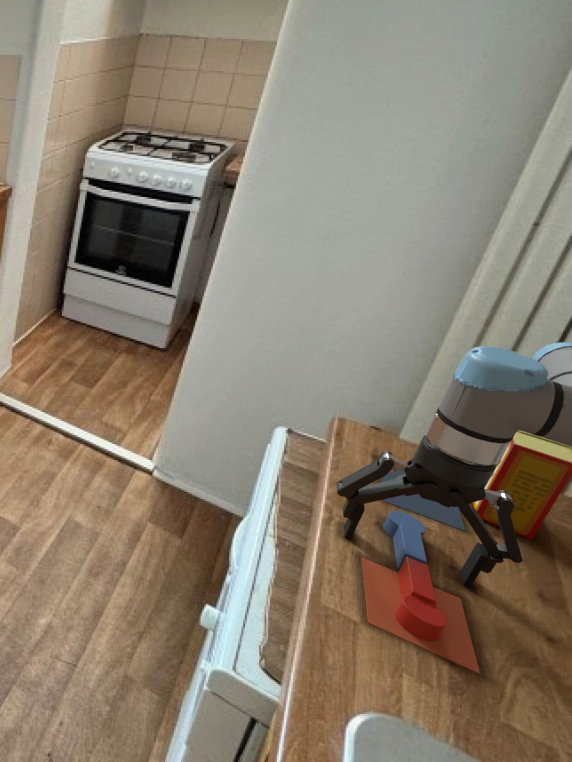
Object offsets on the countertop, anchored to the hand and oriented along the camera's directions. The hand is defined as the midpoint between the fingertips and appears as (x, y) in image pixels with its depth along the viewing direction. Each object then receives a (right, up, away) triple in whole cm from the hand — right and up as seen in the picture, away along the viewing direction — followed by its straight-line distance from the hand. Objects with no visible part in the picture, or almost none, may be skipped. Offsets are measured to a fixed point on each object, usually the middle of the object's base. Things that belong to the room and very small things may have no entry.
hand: (402, 556), depth 93 cm
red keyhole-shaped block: (-6, -3, -8) cm, 11 cm away
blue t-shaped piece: (+1, 0, +1) cm, 2 cm away
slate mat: (+14, +4, +12) cm, 19 cm away
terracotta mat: (-6, -3, -8) cm, 11 cm away
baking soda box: (+25, +3, +9) cm, 26 cm away
